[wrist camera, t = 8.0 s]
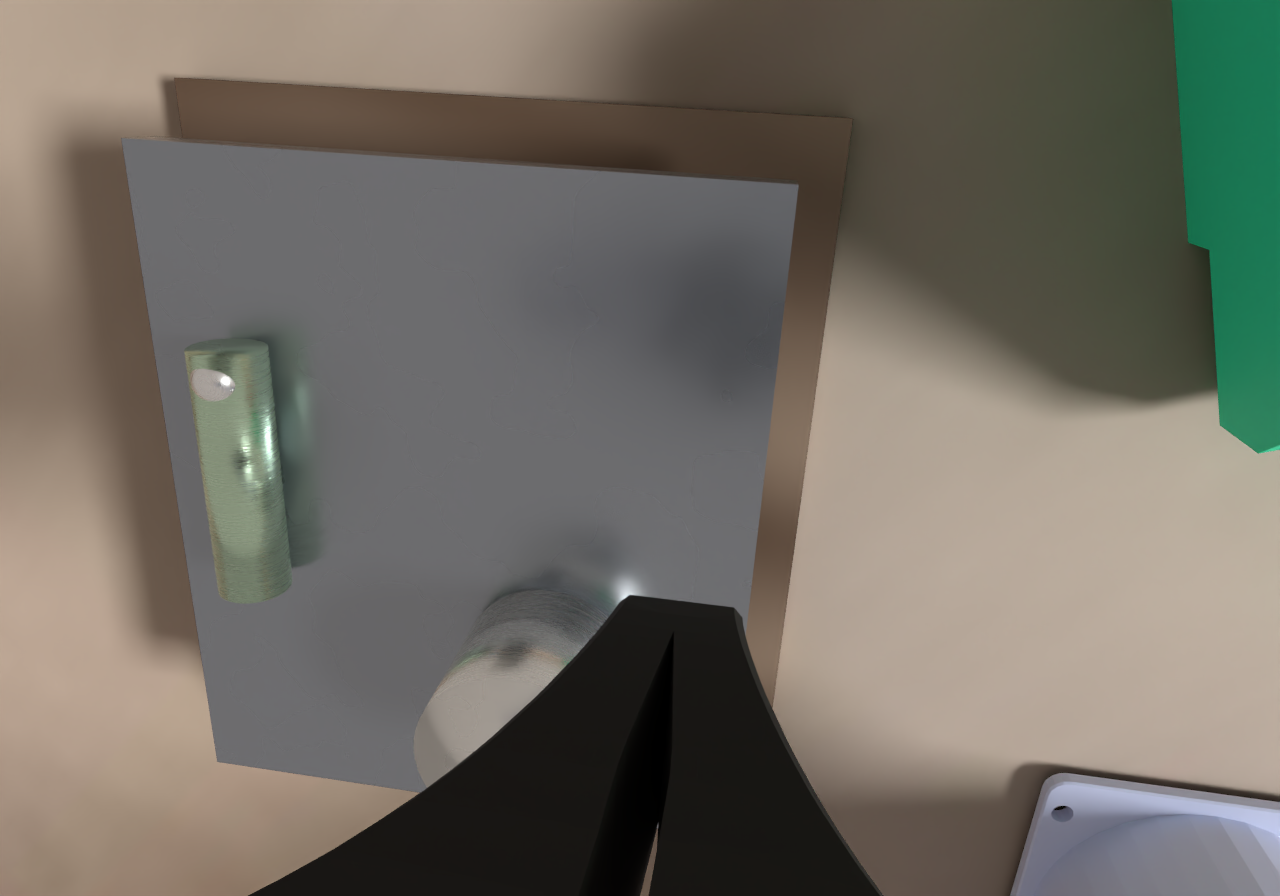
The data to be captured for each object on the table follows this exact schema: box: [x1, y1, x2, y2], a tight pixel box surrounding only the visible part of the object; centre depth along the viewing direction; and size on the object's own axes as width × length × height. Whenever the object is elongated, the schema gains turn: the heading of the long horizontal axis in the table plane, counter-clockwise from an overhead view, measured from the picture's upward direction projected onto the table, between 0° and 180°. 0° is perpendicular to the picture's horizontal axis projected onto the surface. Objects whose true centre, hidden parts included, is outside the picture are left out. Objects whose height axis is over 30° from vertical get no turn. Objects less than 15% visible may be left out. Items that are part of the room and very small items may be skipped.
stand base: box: [174, 78, 853, 707], centre depth 20 cm, size 16×14×3 cm
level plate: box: [121, 136, 799, 828], centre depth 17 cm, size 14×12×4 cm
